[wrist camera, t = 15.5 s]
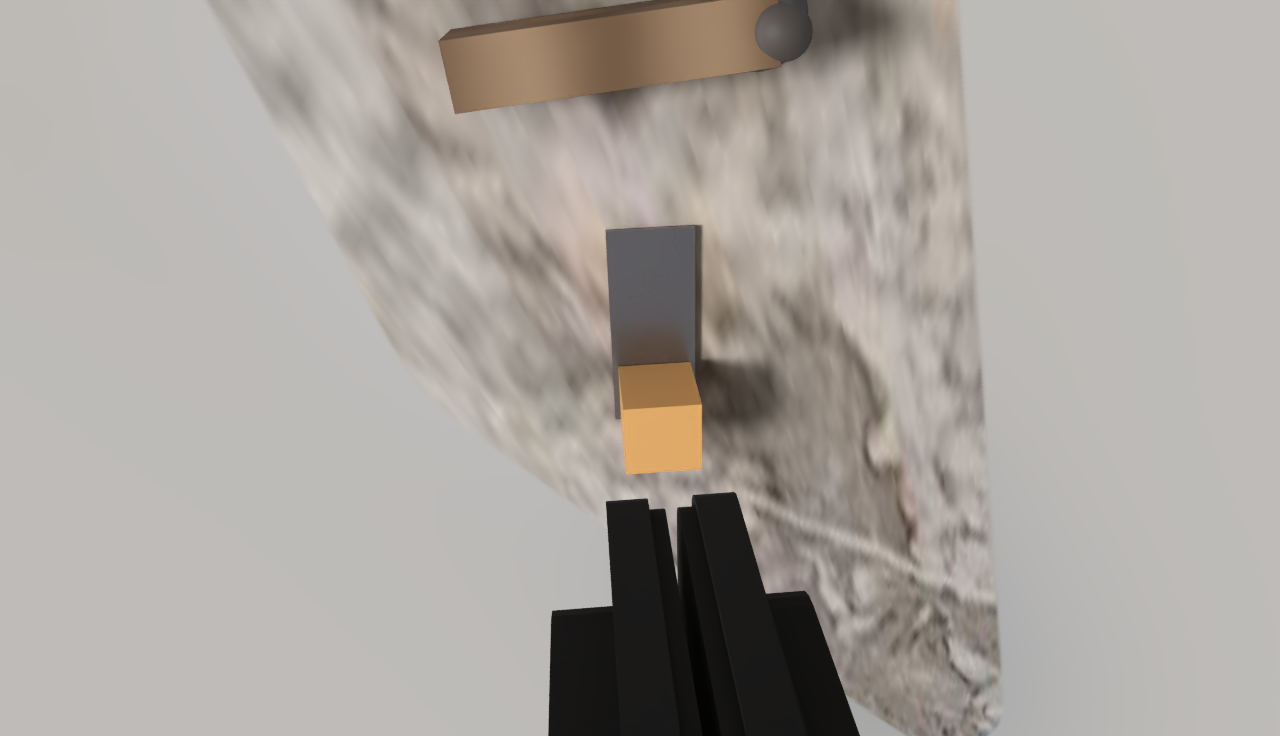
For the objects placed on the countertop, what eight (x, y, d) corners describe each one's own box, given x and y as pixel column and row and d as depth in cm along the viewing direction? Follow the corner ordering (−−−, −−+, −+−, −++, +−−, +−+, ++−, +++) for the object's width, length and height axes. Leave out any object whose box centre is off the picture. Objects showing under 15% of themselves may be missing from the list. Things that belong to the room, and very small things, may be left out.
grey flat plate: (605, 230, 37) (605, 232, 36) (694, 225, 37) (695, 227, 37) (615, 415, 41) (616, 419, 41) (694, 410, 42) (695, 413, 41)
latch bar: (780, -18, 32) (811, -10, 28) (783, 50, 33) (813, 68, 29) (450, 29, 32) (433, 45, 28) (465, 96, 33) (451, 120, 29)
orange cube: (618, 366, 40) (623, 409, 36) (690, 362, 40) (701, 404, 36) (621, 427, 41) (626, 474, 38) (690, 422, 42) (701, 469, 38)
